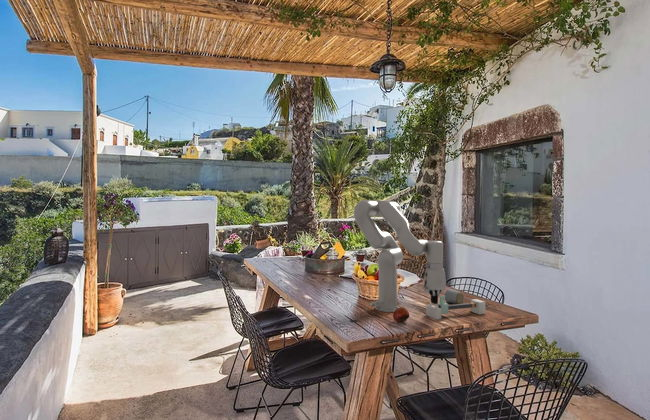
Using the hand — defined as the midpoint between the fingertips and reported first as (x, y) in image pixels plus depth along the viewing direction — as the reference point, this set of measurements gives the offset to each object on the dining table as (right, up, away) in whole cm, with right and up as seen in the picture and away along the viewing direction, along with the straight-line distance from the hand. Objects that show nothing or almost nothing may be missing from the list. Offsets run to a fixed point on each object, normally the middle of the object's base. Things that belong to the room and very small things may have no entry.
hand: (434, 303), depth 191 cm
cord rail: (+13, -7, +5) cm, 15 cm away
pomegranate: (-18, -7, -9) cm, 22 cm away
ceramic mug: (+20, -7, +28) cm, 35 cm away
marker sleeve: (+4, -5, +2) cm, 7 cm away
